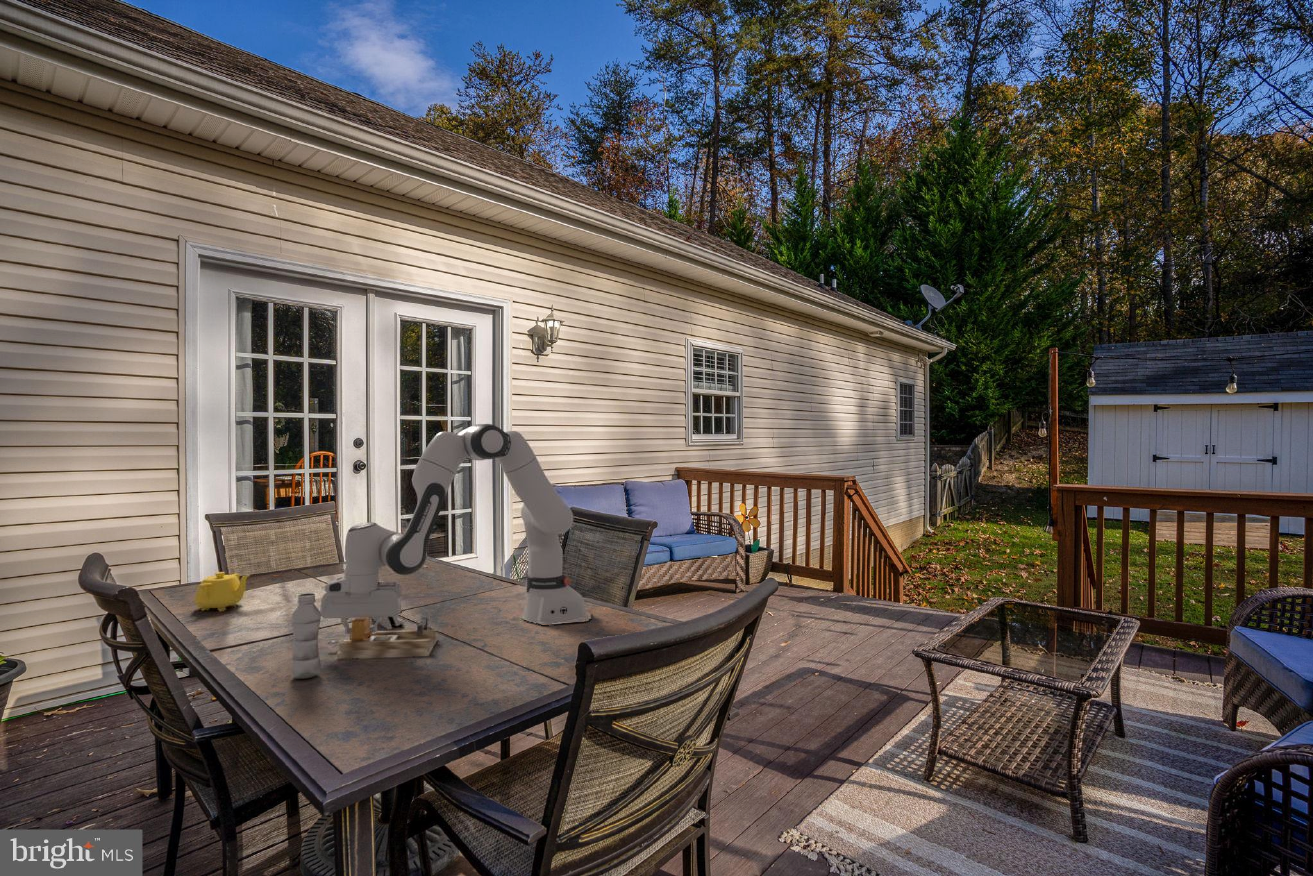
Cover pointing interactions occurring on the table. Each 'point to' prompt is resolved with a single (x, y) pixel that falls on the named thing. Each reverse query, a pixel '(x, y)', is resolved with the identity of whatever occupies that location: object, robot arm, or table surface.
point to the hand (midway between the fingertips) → (361, 633)
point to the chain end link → (364, 633)
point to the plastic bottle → (305, 638)
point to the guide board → (390, 645)
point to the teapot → (220, 591)
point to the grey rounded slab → (390, 622)
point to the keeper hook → (422, 626)
